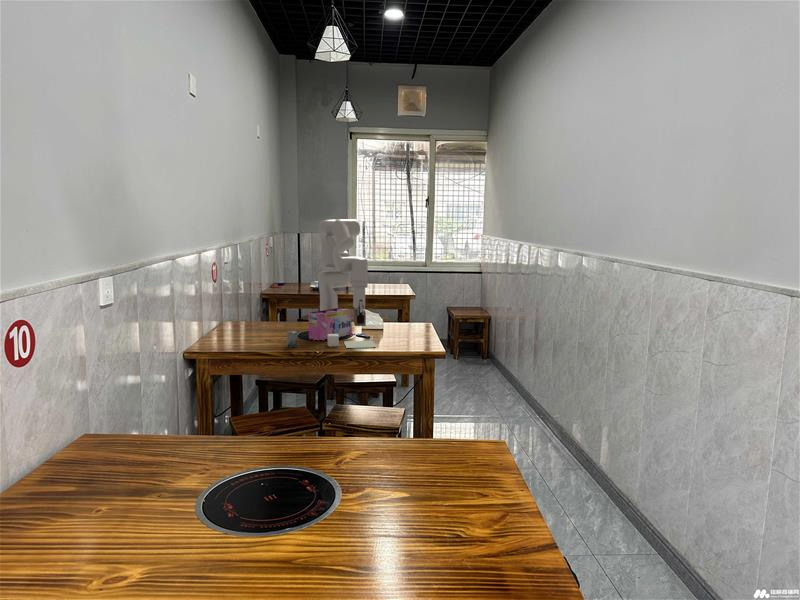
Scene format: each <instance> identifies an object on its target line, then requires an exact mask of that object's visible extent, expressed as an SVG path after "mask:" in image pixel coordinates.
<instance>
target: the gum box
mask: <svg viewBox="0 0 800 600" xmlns="http://www.w3.org/2000/svg"><path fill="white" fill-rule="evenodd" d="M352 325H353V324H352V309H351V308H350V309H349V308H345V307H338V308H335V309H329V310H323V311H320V310H318V311H317V310H316V311H311V312H308V339H309V340H311V339H313V340H312V341H315V340H318V341H317V342H320V341H319V340H322V341H326V340H325V339H327V334H338V335H339V338H341V336H342V337H346V335H347V336H350V335H353V334H352V333H353V332H352V330H353V329H352Z"/></svg>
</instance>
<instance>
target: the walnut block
mask: <svg viewBox="0 0 800 600" xmlns="http://www.w3.org/2000/svg"><path fill="white" fill-rule="evenodd" d="M363 311H364V323H363V324H357V315H358V312H357V310H356V309H353V325H354V326H355V327H366V326H367V324H366V321H367V319H366V317H367V315H366V314H367V313H366V311H367V310H365V309H363Z"/></svg>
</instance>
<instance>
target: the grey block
mask: <svg viewBox="0 0 800 600" xmlns="http://www.w3.org/2000/svg"><path fill="white" fill-rule="evenodd" d="M339 339H340V337H339V335H338V334H327V340H326V341H327V347H328V346H329V347H339V346H340V345H339V343H340V341H339ZM331 345H332V346H331ZM333 345H334V346H333Z"/></svg>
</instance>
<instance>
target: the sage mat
mask: <svg viewBox="0 0 800 600" xmlns="http://www.w3.org/2000/svg"><path fill="white" fill-rule="evenodd" d="M343 344H344V347H345V346H346V347H345V349H346V348H360V349H376V348H377V346H376V344H375V342H374V341H373V340H352V341H351V340H350V341H349V340H345V341H343ZM373 347H375V348H373Z"/></svg>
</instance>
